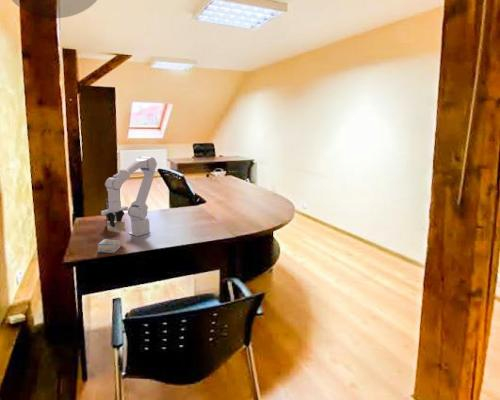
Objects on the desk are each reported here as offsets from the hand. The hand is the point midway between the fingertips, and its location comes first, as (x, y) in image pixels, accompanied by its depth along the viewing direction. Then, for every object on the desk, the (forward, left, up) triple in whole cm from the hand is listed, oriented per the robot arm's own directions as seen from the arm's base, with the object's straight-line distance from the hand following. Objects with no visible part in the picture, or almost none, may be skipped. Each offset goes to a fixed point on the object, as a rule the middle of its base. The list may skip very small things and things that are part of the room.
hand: (115, 225), depth 194 cm
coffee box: (-14, -25, -9) cm, 30 cm away
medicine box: (+7, +7, -6) cm, 11 cm away
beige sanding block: (0, +1, -3) cm, 3 cm away
